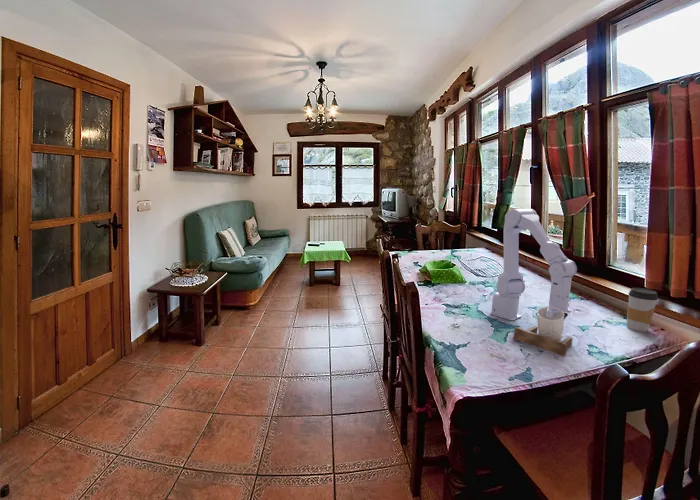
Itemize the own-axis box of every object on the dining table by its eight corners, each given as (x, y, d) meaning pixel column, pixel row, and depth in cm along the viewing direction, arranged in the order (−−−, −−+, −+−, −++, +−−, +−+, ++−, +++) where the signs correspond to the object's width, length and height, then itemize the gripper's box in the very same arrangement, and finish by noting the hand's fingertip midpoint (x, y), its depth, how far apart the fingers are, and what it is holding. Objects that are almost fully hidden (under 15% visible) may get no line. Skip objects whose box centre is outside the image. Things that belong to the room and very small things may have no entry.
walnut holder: (513, 338, 117) (514, 327, 116) (528, 330, 124) (529, 320, 123) (564, 356, 105) (565, 344, 104) (577, 346, 112) (579, 335, 111)
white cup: (538, 328, 122) (538, 305, 118) (564, 332, 117) (565, 308, 113) (535, 341, 116) (535, 317, 112) (562, 346, 111) (563, 322, 108)
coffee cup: (645, 334, 122) (652, 295, 119) (618, 326, 129) (625, 289, 126) (655, 330, 126) (663, 292, 123) (629, 322, 133) (635, 286, 130)
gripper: (564, 301, 108) (559, 341, 111) (580, 293, 117) (575, 330, 120) (541, 296, 114) (536, 334, 116) (558, 289, 123) (554, 324, 125)
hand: (555, 331), depth 118 cm, fingers closed, pressing on white cup
